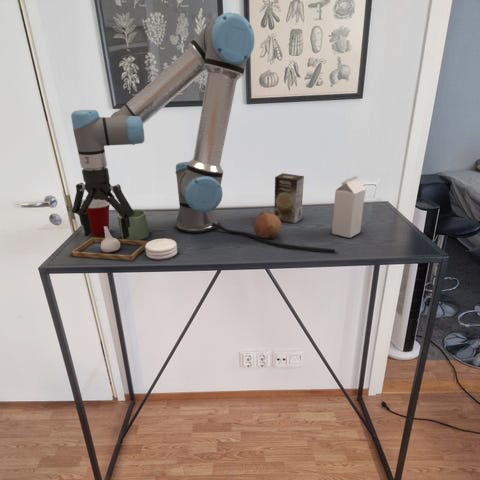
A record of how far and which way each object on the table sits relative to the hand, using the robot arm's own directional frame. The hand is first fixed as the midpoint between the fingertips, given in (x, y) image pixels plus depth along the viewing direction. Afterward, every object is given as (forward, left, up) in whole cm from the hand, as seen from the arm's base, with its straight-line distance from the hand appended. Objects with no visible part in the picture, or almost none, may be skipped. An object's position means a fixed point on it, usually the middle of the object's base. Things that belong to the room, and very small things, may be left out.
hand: (107, 236), depth 137 cm
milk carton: (-75, -28, -5) cm, 81 cm away
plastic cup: (+11, -14, -5) cm, 18 cm away
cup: (-2, -14, -5) cm, 15 cm away
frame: (0, 0, -5) cm, 5 cm away
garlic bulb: (0, 0, -5) cm, 5 cm away
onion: (-49, -19, -5) cm, 53 cm away
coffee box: (-53, -40, -5) cm, 67 cm away
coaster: (-18, 0, -5) cm, 19 cm away
